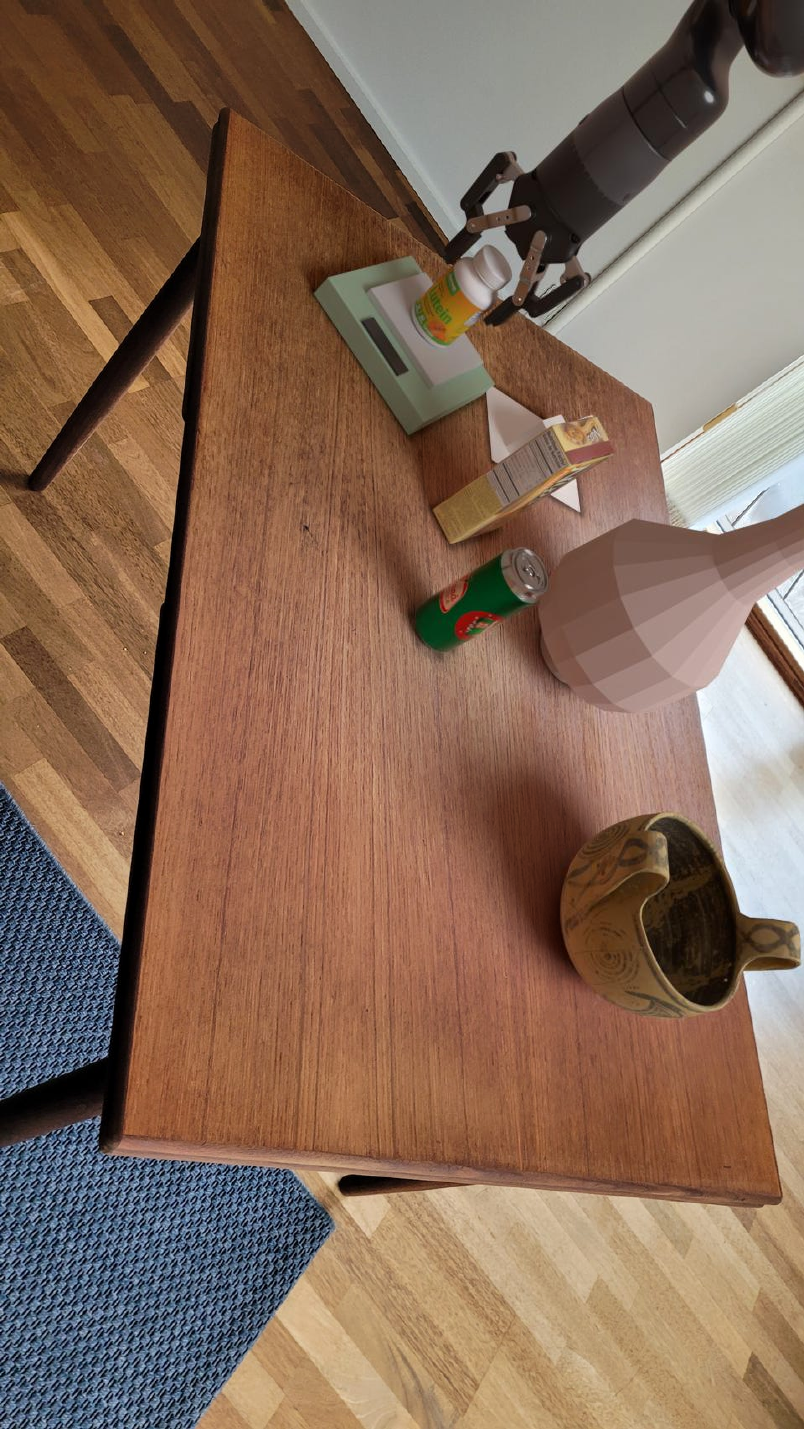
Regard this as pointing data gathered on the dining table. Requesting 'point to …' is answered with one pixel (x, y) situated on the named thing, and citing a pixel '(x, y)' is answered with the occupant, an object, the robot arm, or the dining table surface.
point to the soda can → (481, 599)
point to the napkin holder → (521, 435)
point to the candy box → (524, 478)
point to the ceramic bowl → (664, 920)
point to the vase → (659, 607)
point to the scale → (401, 342)
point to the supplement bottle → (461, 296)
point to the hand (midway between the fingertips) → (468, 290)
